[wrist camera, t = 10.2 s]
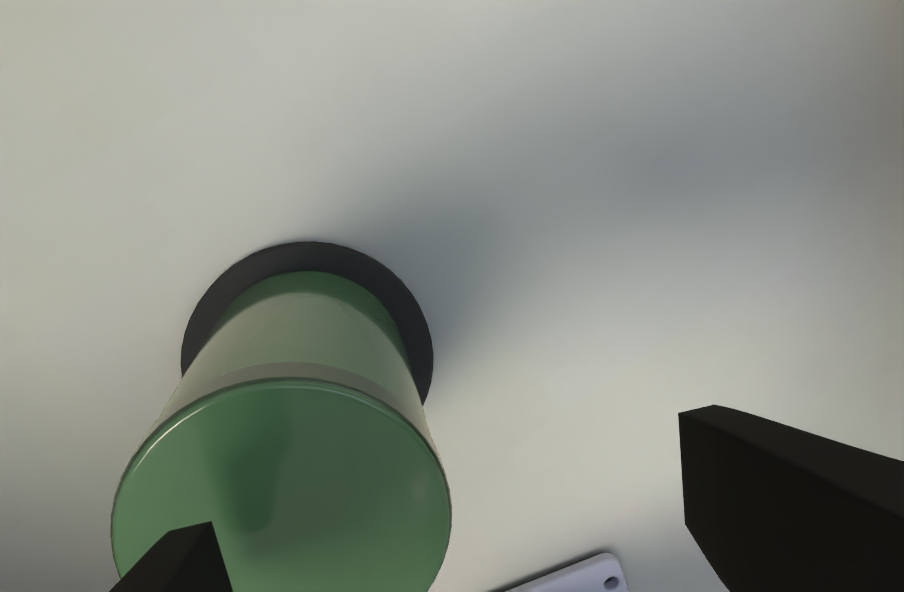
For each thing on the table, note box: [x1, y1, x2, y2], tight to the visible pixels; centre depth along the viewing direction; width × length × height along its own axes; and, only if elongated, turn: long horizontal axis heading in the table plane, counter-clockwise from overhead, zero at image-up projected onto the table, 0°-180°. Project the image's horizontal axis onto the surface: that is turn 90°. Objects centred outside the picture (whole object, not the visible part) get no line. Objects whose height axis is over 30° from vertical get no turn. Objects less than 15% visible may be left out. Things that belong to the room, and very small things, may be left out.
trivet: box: [181, 242, 433, 406], centre depth 19 cm, size 7×7×1 cm
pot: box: [110, 271, 452, 592], centre depth 15 cm, size 6×6×8 cm
